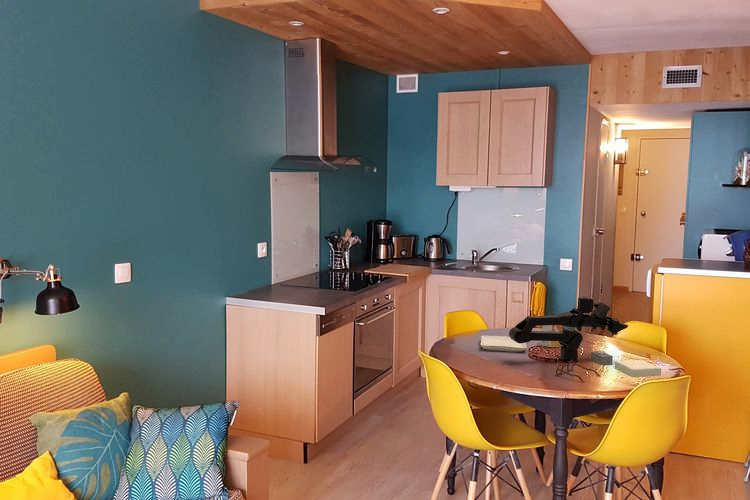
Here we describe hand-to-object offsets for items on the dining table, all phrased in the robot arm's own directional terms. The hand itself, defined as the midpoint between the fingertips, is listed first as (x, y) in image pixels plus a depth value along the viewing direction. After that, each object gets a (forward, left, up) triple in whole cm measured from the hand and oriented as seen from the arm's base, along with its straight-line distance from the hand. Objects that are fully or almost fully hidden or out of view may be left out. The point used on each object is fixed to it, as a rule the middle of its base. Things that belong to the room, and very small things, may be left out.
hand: (622, 323), depth 292 cm
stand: (-5, -20, -16) cm, 26 cm away
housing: (-12, -4, -16) cm, 21 cm away
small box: (-20, +26, -16) cm, 36 cm away
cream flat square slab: (-44, +29, -17) cm, 55 cm away
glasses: (-33, -22, -17) cm, 43 cm away
